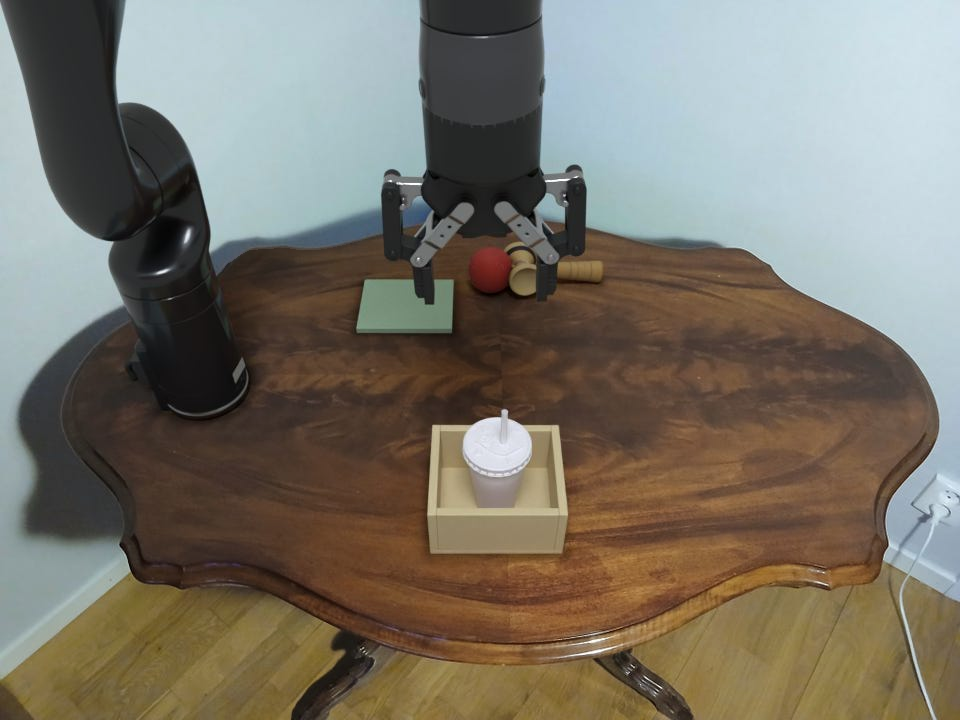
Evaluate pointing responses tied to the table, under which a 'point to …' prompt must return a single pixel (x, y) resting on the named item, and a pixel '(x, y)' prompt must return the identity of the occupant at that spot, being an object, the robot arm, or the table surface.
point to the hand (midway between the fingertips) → (485, 296)
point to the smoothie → (496, 459)
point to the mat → (404, 308)
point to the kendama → (522, 269)
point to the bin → (496, 529)
